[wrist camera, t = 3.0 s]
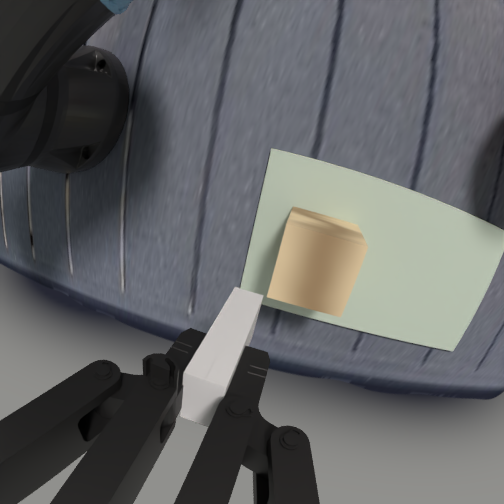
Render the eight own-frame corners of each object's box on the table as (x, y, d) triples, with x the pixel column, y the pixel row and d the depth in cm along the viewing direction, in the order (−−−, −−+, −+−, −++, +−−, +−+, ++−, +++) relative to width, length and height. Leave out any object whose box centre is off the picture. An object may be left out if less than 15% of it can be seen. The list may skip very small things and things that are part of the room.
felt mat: (239, 295, 31) (238, 297, 30) (272, 148, 25) (271, 148, 25) (451, 349, 28) (452, 351, 27) (508, 232, 22) (510, 233, 22)
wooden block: (277, 266, 28) (266, 297, 23) (293, 206, 26) (286, 223, 20) (337, 283, 28) (340, 317, 22) (357, 224, 25) (368, 247, 20)
